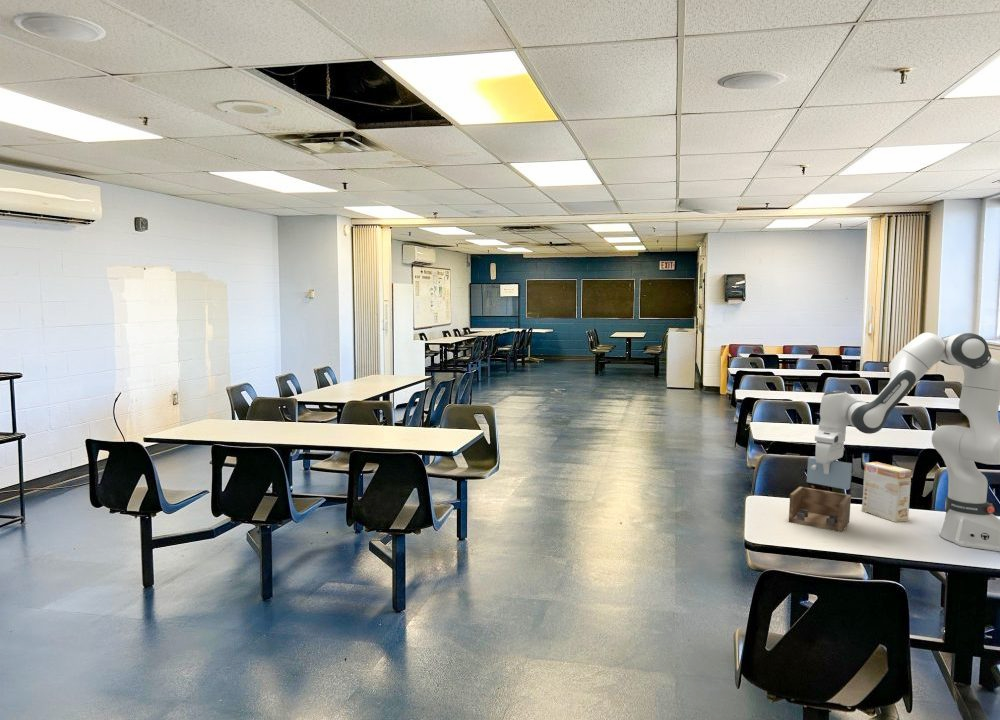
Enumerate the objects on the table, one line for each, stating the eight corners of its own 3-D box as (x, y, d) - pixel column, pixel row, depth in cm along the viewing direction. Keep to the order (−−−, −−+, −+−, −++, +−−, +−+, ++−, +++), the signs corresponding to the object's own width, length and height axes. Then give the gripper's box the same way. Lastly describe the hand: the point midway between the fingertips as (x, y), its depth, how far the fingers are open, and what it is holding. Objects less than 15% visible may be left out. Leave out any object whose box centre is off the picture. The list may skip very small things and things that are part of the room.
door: (850, 488, 244) (852, 463, 243) (846, 490, 241) (848, 465, 240) (809, 480, 253) (811, 456, 252) (805, 482, 250) (807, 458, 249)
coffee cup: (831, 509, 270) (832, 477, 269) (828, 514, 263) (830, 481, 262) (807, 505, 275) (808, 473, 274) (803, 510, 268) (805, 478, 267)
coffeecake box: (909, 520, 257) (912, 470, 256) (895, 522, 255) (898, 471, 253) (874, 509, 271) (877, 461, 269) (861, 511, 268) (864, 462, 267)
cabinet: (849, 522, 254) (850, 495, 253) (841, 532, 243) (843, 503, 242) (798, 513, 265) (799, 486, 264) (788, 521, 254) (790, 494, 253)
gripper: (831, 430, 256) (828, 466, 257) (813, 436, 241) (810, 475, 242) (849, 433, 251) (846, 470, 253) (832, 439, 236) (829, 478, 237)
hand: (828, 472), depth 247 cm, fingers closed on door, 3 cm apart
